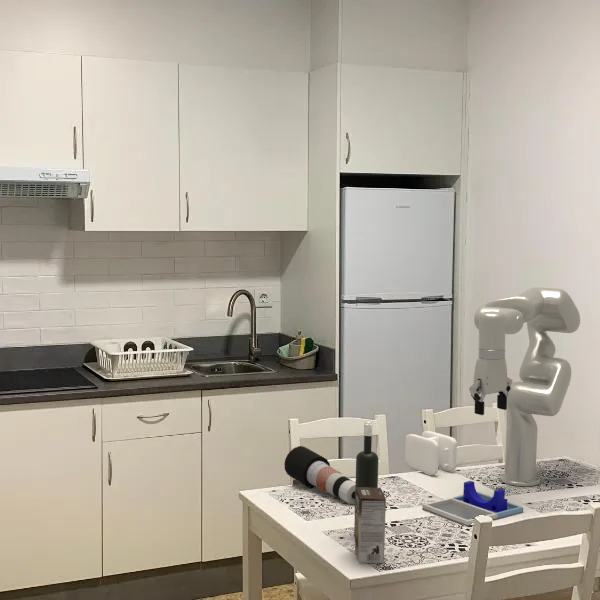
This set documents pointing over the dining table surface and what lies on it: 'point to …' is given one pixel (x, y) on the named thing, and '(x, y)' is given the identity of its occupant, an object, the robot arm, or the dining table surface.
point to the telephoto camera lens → (318, 474)
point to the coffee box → (370, 525)
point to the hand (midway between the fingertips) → (490, 411)
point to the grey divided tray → (467, 510)
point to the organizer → (430, 452)
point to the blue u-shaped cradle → (472, 497)
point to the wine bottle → (366, 464)
